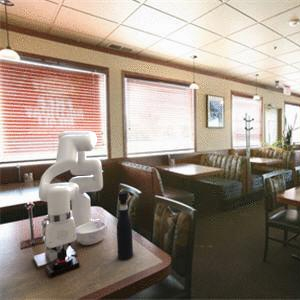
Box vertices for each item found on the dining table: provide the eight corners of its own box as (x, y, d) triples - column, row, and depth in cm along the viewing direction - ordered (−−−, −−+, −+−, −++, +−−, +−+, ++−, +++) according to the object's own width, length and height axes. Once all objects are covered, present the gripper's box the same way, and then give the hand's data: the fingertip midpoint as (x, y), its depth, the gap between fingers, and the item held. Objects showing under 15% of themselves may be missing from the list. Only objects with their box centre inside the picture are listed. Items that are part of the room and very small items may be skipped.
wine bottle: (136, 254, 109) (133, 191, 107) (126, 261, 103) (123, 194, 101) (125, 252, 111) (122, 190, 109) (114, 259, 105) (111, 193, 103)
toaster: (65, 256, 105) (64, 241, 104) (50, 261, 101) (49, 245, 100) (59, 248, 112) (58, 234, 112) (45, 252, 108) (44, 237, 108)
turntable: (69, 248, 116) (69, 245, 116) (76, 256, 108) (76, 253, 107) (33, 259, 105) (33, 256, 105) (38, 269, 97) (38, 266, 97)
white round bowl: (67, 245, 119) (66, 230, 118) (93, 233, 133) (92, 219, 132) (89, 250, 113) (88, 234, 113) (114, 237, 128) (113, 223, 127)
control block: (73, 260, 104) (73, 252, 104) (79, 267, 99) (78, 258, 98) (46, 270, 97) (45, 261, 96) (50, 278, 91) (49, 268, 91)
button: (66, 259, 100) (66, 255, 100) (69, 263, 98) (69, 259, 98) (55, 263, 97) (55, 259, 97) (58, 267, 95) (57, 263, 95)
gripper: (38, 224, 88) (41, 270, 89) (83, 214, 99) (85, 255, 100) (35, 219, 93) (37, 263, 94) (77, 210, 104) (79, 250, 105)
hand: (62, 259), depth 97 cm, fingers closed
